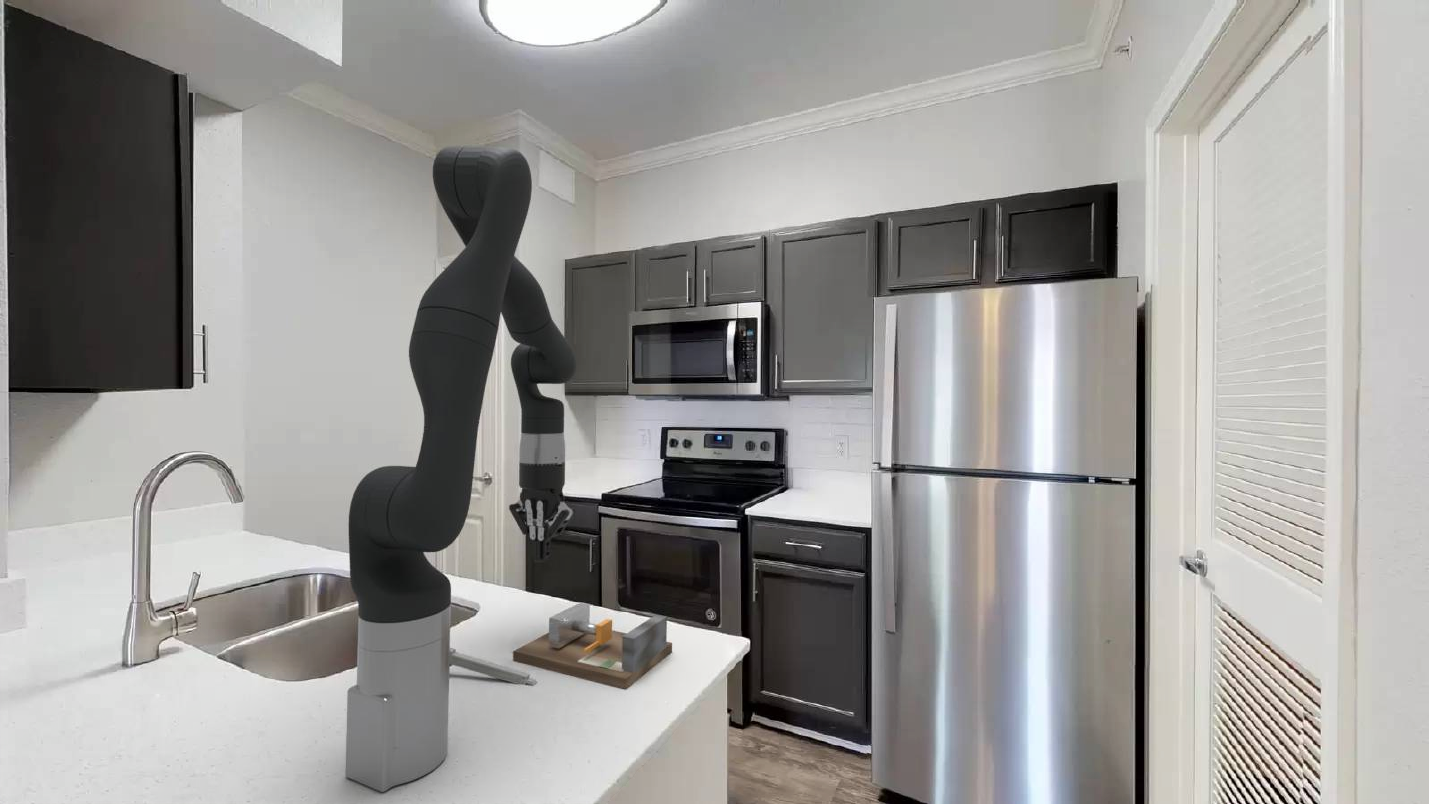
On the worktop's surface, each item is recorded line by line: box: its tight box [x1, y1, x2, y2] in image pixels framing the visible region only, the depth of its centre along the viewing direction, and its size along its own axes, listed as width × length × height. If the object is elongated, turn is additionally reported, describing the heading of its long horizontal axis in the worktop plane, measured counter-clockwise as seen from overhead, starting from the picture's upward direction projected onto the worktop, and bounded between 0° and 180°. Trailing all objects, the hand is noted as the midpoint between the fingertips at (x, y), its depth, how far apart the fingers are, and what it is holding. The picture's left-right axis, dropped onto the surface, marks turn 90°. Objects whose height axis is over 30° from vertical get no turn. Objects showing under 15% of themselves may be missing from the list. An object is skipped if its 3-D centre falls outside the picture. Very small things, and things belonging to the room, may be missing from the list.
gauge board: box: [512, 614, 673, 690], centre depth 92 cm, size 14×21×6 cm, turn 66°
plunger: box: [548, 602, 597, 648], centre depth 94 cm, size 8×7×4 cm
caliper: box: [449, 647, 538, 686], centre depth 85 cm, size 20×1×6 cm, turn 81°
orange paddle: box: [584, 618, 613, 654], centre depth 90 cm, size 6×1×3 cm, turn 156°
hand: (541, 560), depth 97 cm, fingers closed
